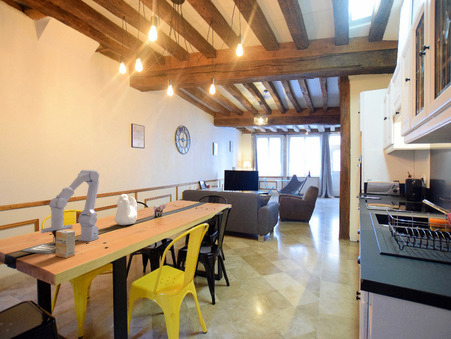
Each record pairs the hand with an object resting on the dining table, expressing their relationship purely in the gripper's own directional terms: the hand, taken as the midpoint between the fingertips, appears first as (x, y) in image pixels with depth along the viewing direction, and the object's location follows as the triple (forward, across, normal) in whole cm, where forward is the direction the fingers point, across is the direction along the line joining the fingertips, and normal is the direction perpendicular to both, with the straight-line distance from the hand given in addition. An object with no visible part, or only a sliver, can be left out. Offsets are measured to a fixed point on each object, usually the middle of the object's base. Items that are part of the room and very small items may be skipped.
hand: (57, 243), depth 135 cm
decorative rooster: (+3, -58, -27) cm, 64 cm away
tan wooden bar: (+2, -2, -2) cm, 4 cm away
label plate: (+3, +4, -4) cm, 7 cm away
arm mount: (+3, -2, -10) cm, 11 cm away
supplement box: (+3, +1, +15) cm, 16 cm away
